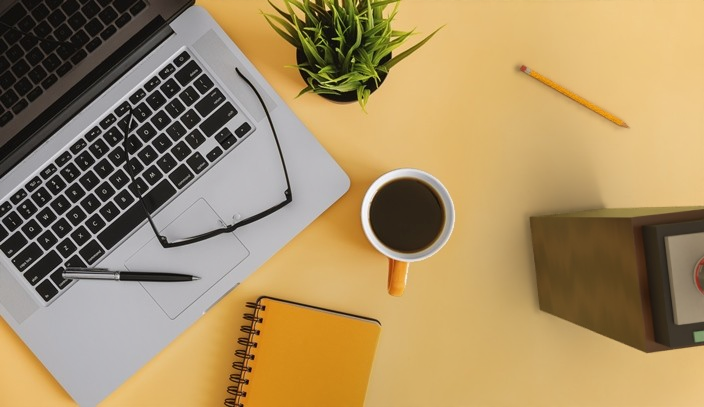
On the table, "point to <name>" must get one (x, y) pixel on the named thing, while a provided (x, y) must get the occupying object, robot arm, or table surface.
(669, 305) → the scale
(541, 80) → the pencil
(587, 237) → the riser
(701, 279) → the pill bottle
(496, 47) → the table surface
